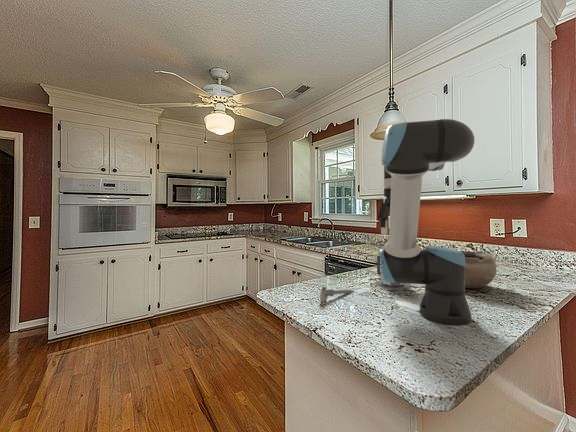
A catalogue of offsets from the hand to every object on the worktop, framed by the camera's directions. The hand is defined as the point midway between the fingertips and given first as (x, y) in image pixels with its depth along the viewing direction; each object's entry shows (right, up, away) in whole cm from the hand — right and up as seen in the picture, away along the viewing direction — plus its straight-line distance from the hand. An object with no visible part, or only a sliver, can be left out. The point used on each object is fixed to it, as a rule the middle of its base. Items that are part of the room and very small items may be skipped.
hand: (392, 233), depth 125 cm
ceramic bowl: (+34, -24, 0) cm, 42 cm away
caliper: (-28, -26, -13) cm, 40 cm away
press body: (0, -24, +2) cm, 24 cm away
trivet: (0, -25, +1) cm, 25 cm away
